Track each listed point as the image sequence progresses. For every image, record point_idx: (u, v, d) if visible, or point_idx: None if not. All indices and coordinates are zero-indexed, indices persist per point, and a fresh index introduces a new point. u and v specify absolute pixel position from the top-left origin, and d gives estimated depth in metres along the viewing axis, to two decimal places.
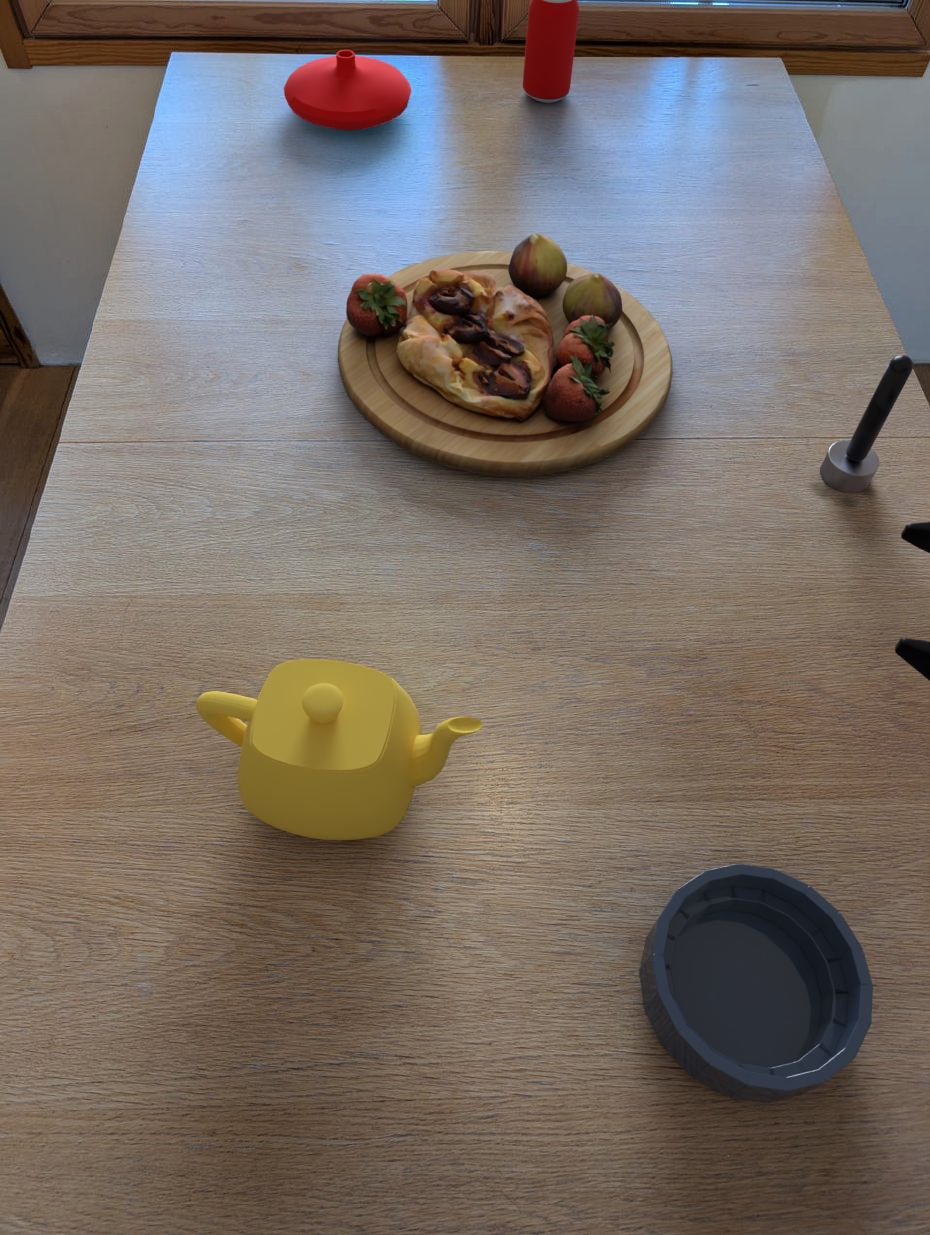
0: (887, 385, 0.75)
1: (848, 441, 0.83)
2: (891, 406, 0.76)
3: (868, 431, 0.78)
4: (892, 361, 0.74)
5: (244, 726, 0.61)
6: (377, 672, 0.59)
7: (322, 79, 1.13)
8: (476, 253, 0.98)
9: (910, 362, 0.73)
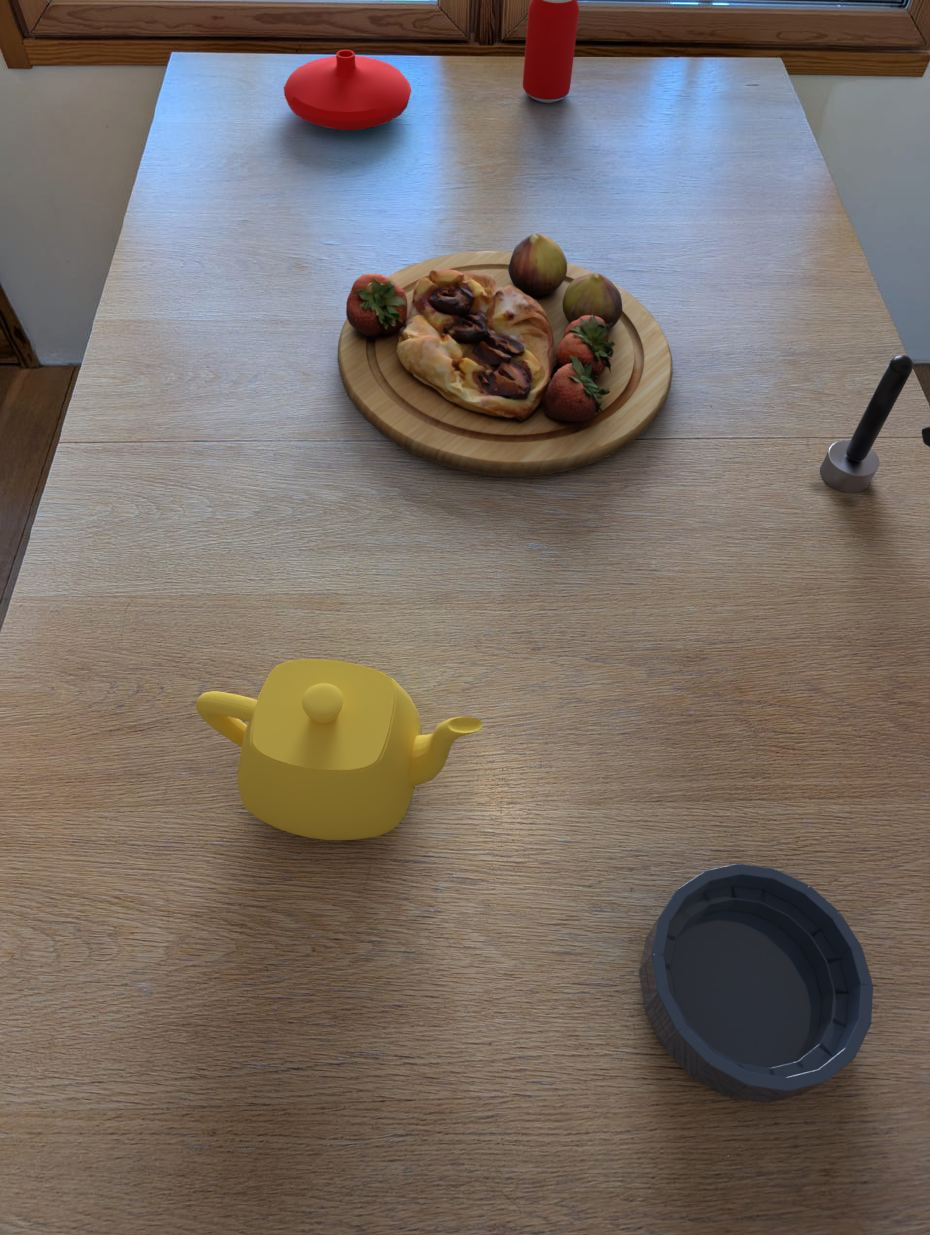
0: (887, 385, 0.75)
1: (848, 441, 0.83)
2: (891, 406, 0.76)
3: (868, 431, 0.78)
4: (892, 361, 0.74)
5: (244, 726, 0.61)
6: (377, 672, 0.59)
7: (322, 79, 1.13)
8: (476, 253, 0.98)
9: (910, 362, 0.73)
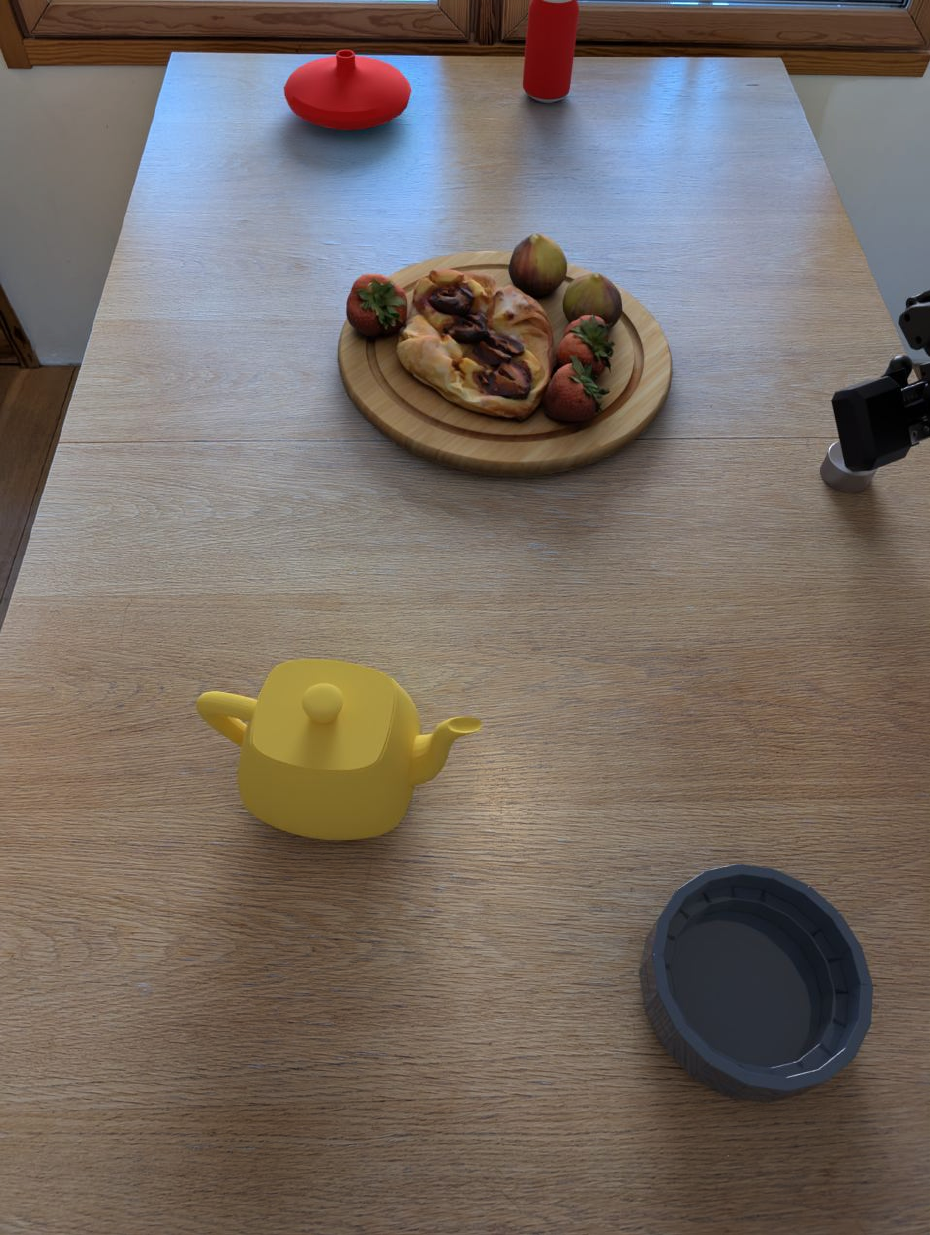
0: None
1: None
2: None
3: None
4: (892, 361, 0.74)
5: (244, 726, 0.61)
6: (377, 672, 0.59)
7: (322, 79, 1.13)
8: (476, 253, 0.98)
9: (910, 362, 0.73)
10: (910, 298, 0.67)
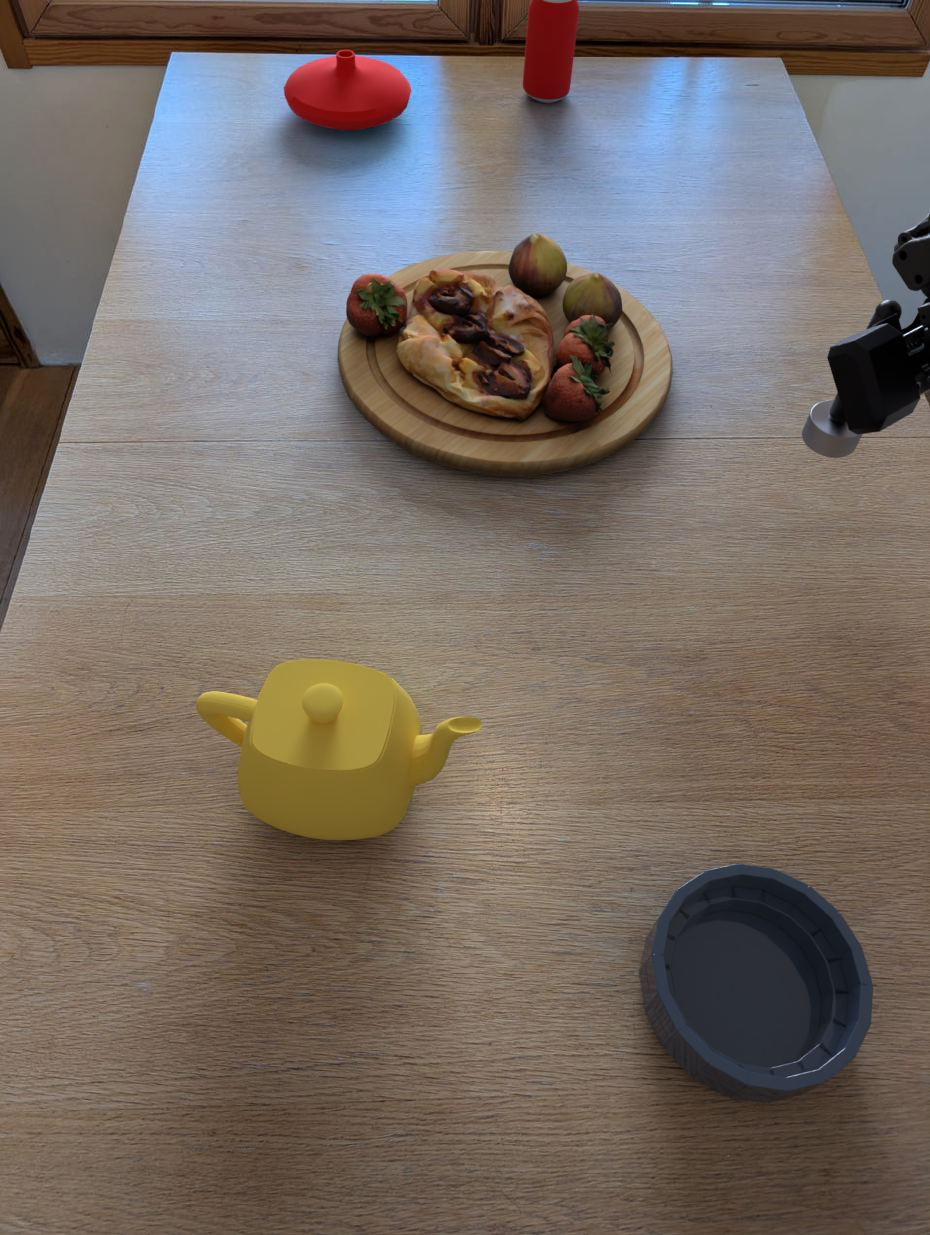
0: None
1: (829, 401, 0.76)
2: None
3: None
4: (879, 307, 0.66)
5: (244, 726, 0.61)
6: (377, 672, 0.59)
7: (322, 79, 1.13)
8: (476, 253, 0.98)
9: (899, 307, 0.66)
10: (903, 233, 0.59)
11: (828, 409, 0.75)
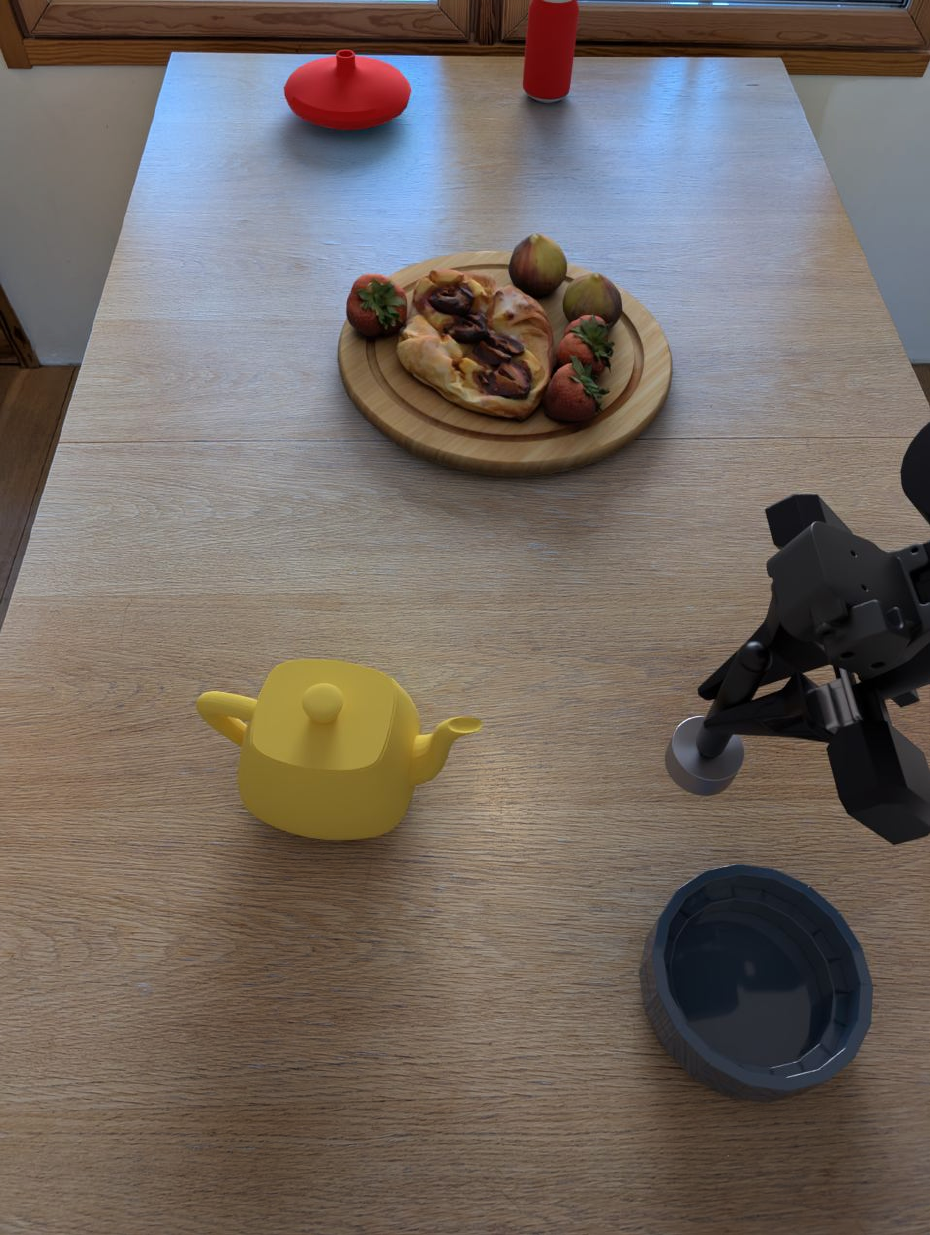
0: (754, 686, 0.49)
1: (677, 734, 0.57)
2: None
3: None
4: (750, 664, 0.48)
5: (244, 726, 0.61)
6: (377, 672, 0.59)
7: (322, 79, 1.13)
8: (476, 253, 0.98)
9: (766, 647, 0.48)
10: (824, 629, 0.41)
11: (688, 745, 0.57)
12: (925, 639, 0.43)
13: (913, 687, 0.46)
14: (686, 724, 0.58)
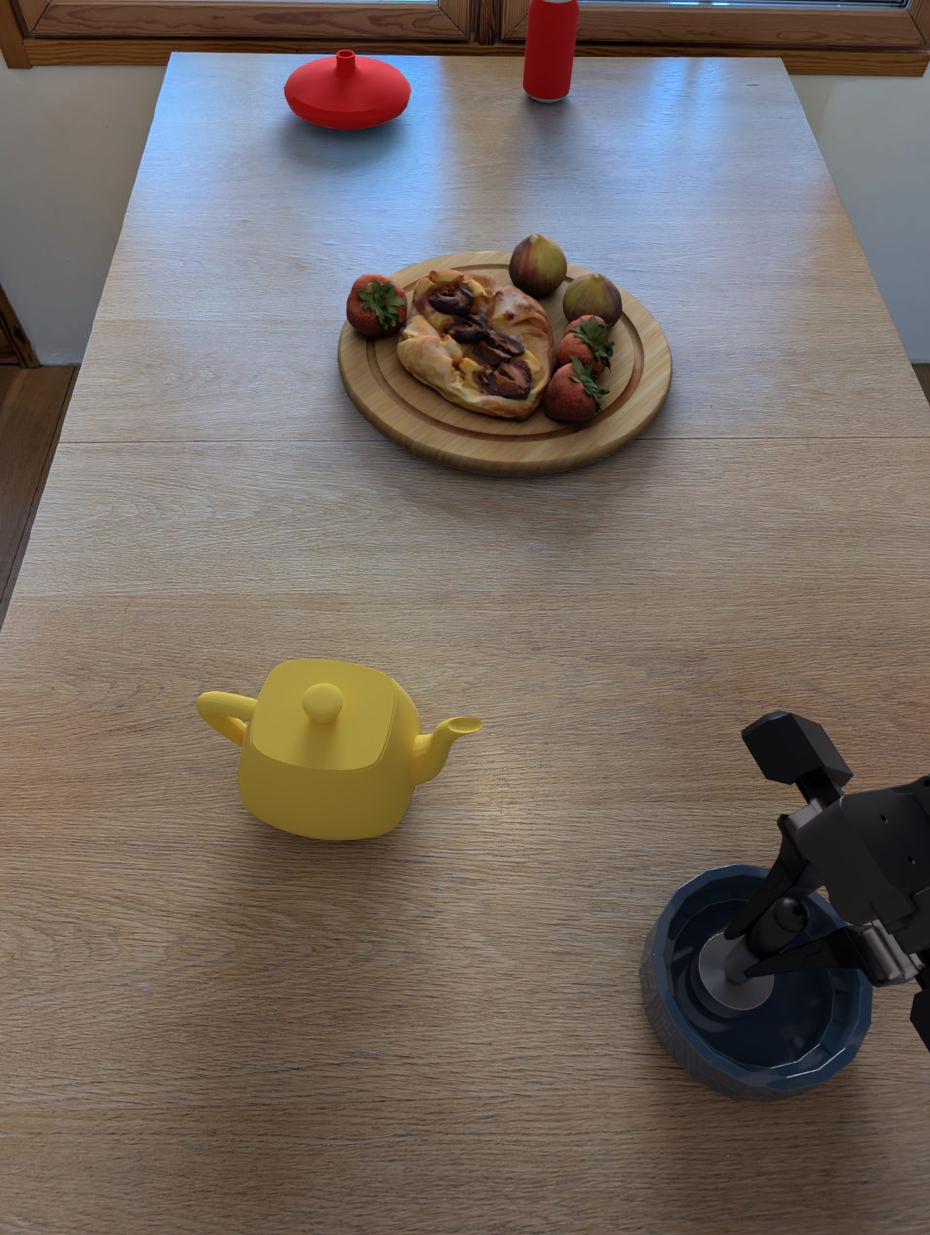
0: (794, 938, 0.47)
1: (702, 965, 0.55)
2: None
3: None
4: (791, 927, 0.46)
5: (244, 726, 0.61)
6: (377, 672, 0.59)
7: (322, 79, 1.13)
8: (476, 253, 0.98)
9: (801, 903, 0.46)
10: (897, 929, 0.39)
11: (717, 974, 0.54)
12: None
13: None
14: (706, 950, 0.55)
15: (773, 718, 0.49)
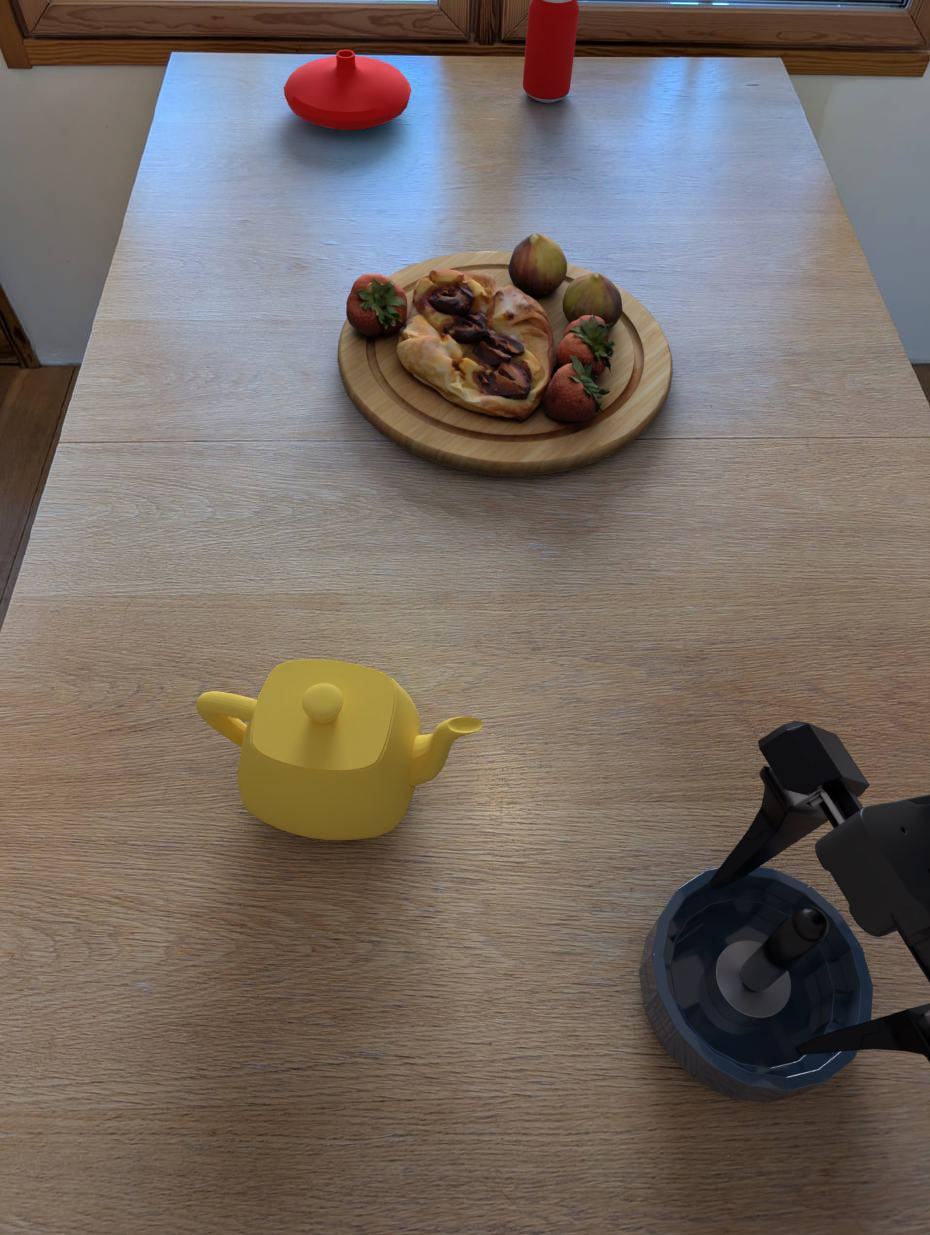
0: (813, 947, 0.48)
1: (719, 973, 0.55)
2: None
3: None
4: (811, 937, 0.46)
5: (244, 726, 0.61)
6: (377, 672, 0.59)
7: (322, 79, 1.13)
8: (476, 253, 0.98)
9: (820, 912, 0.46)
10: (919, 941, 0.39)
11: (735, 982, 0.55)
12: None
13: None
14: (723, 958, 0.55)
15: (790, 729, 0.50)
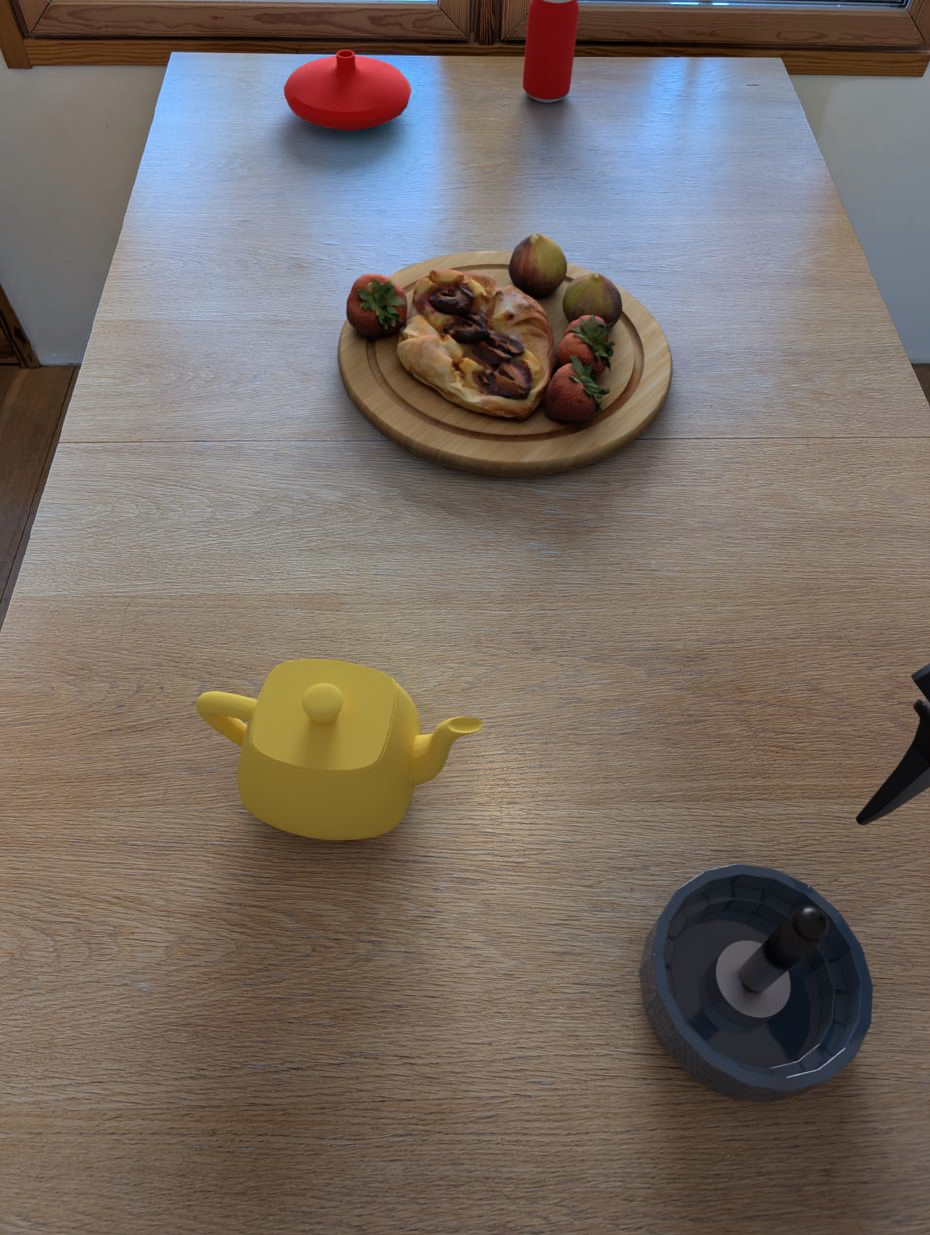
0: (813, 947, 0.48)
1: (719, 973, 0.55)
2: None
3: None
4: (811, 937, 0.46)
5: (244, 726, 0.61)
6: (377, 672, 0.59)
7: (322, 79, 1.13)
8: (476, 253, 0.98)
9: (820, 912, 0.46)
10: None
11: (735, 982, 0.55)
12: None
13: None
14: (723, 958, 0.55)
15: None
